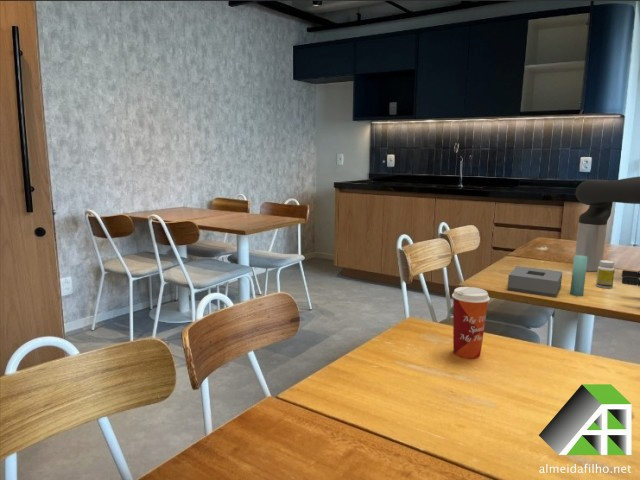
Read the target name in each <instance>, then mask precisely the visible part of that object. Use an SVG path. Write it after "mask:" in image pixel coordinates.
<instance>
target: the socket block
mask: <svg viewBox="0 0 640 480" xmlns="http://www.w3.org/2000/svg"><path fill="white" fill-rule="evenodd" d="M562 278H563V271H561V270H551V269H545V268H544V269H543V268H535V267H527V266H518V265H516V266H515V267H514V268H513V269H512V271H511V272H510V273H509V274H508V278H507V279H508V280H507V291H509V292H517V293H524V294H530V295H537V296H544V297H549V298H550V297H551V298H557V296H558V294H559V292H560V290H561V288H562V281H563V279H562Z"/></svg>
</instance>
